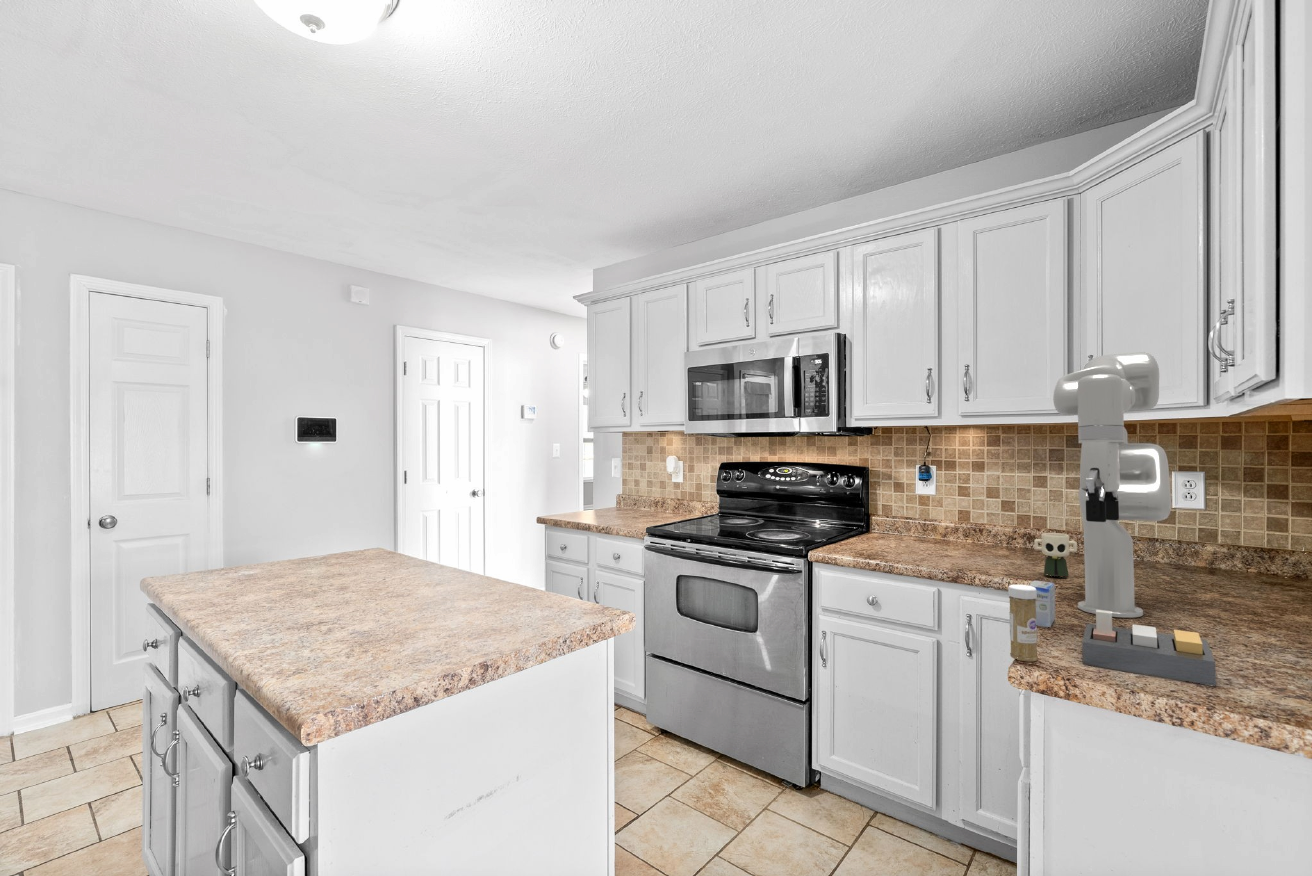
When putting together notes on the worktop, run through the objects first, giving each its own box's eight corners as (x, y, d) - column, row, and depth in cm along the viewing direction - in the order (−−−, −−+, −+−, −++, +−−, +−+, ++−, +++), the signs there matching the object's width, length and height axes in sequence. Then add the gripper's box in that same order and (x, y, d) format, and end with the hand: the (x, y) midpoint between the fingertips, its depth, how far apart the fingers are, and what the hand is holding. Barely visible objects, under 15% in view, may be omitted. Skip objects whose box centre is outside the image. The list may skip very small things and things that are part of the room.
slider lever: (1094, 633, 121) (1093, 607, 121) (1115, 636, 119) (1115, 610, 119) (1093, 638, 118) (1092, 612, 118) (1115, 641, 116) (1114, 615, 116)
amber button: (1173, 639, 114) (1173, 629, 114) (1198, 642, 111) (1198, 632, 112) (1176, 650, 107) (1176, 640, 107) (1202, 654, 105) (1202, 643, 105)
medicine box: (1033, 617, 144) (1032, 579, 144) (1055, 620, 141) (1054, 582, 142) (1027, 624, 138) (1026, 585, 138) (1050, 628, 135) (1050, 588, 135)
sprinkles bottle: (1030, 664, 113) (1028, 590, 113) (1005, 657, 117) (1003, 585, 117) (1042, 659, 115) (1041, 586, 116) (1017, 652, 119) (1015, 582, 119)
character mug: (1034, 577, 188) (1033, 534, 189) (1035, 573, 194) (1034, 531, 195) (1078, 580, 183) (1077, 536, 183) (1077, 576, 189) (1076, 534, 189)
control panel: (1087, 643, 124) (1086, 623, 124) (1206, 661, 113) (1206, 639, 113) (1082, 664, 112) (1082, 642, 112) (1216, 686, 101) (1215, 661, 102)
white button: (1132, 633, 117) (1132, 624, 117) (1155, 636, 115) (1155, 627, 115) (1132, 644, 111) (1132, 634, 111) (1157, 648, 109) (1157, 637, 109)
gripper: (1090, 438, 134) (1092, 518, 133) (1066, 434, 122) (1068, 521, 121) (1133, 437, 128) (1136, 520, 127) (1112, 432, 117) (1114, 523, 116)
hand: (1102, 520), depth 124 cm, fingers open, 9 cm apart
